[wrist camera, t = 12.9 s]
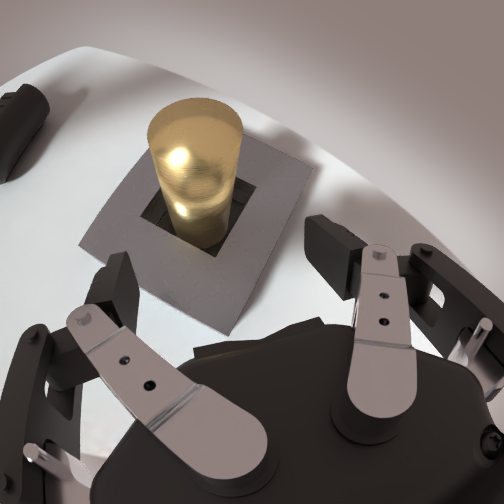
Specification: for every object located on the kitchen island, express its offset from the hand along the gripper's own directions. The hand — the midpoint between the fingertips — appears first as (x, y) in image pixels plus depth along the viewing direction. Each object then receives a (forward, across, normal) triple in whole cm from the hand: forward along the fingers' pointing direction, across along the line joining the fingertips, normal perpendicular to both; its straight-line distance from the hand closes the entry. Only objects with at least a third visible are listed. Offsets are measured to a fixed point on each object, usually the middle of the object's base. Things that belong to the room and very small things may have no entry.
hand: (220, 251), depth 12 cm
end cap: (+21, +21, -8) cm, 30 cm away
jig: (+10, 0, +2) cm, 11 cm away
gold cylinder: (+10, 0, +2) cm, 11 cm away
